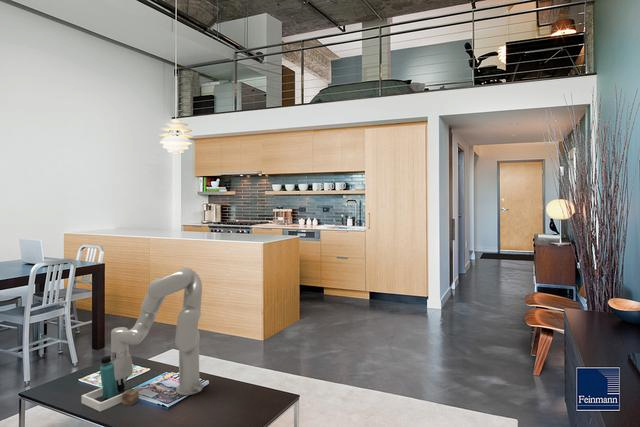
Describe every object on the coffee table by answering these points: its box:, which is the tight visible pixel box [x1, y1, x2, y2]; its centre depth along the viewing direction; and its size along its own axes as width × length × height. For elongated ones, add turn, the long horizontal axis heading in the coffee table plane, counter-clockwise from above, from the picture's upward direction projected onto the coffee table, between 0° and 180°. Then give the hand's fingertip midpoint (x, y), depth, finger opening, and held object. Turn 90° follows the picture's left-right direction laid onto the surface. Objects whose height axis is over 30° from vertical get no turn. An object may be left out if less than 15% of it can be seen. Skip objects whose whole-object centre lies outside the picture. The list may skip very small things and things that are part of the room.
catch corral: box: [80, 387, 124, 413], centre depth 195 cm, size 15×15×4 cm
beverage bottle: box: [99, 355, 119, 399], centre depth 196 cm, size 6×7×20 cm
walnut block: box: [121, 388, 140, 406], centre depth 194 cm, size 5×5×5 cm
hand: (120, 391), depth 201 cm, fingers closed
